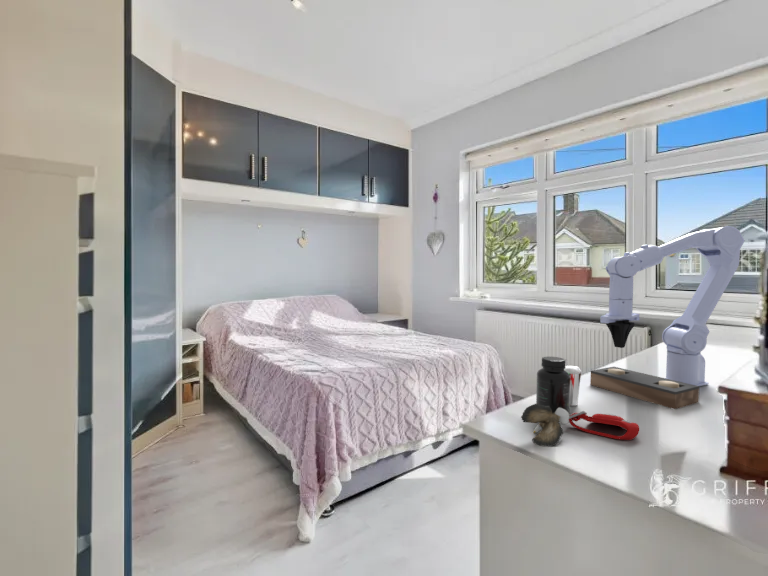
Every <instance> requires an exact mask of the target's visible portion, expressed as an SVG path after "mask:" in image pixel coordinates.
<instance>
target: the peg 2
mask: <svg viewBox="0 0 768 576" xmlns="http://www.w3.org/2000/svg"><path fill="white" fill-rule="evenodd" d="M659 385H662V386H666V387H670V388H679V384H678V383H676V382H671V381H659Z"/></svg>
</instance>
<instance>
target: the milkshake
mask: <svg viewBox="0 0 768 576" xmlns="http://www.w3.org/2000/svg"><path fill="white" fill-rule="evenodd" d="M564 359H565V358H564ZM565 366H566V368H565V369H564V370H565V371H566V372H568V374H569V375H570V405H569V407H576V406H578V403H579V395H580V383H581V377H582V370H581V368H580V367H579V366H577V365H568V359H565Z"/></svg>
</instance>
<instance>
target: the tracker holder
mask: <svg viewBox="0 0 768 576" xmlns="http://www.w3.org/2000/svg"><path fill="white" fill-rule="evenodd" d="M580 420H584V421H587V422H589V423H594V424H595V423H596V424H601V425H602V424H604V425H611V426H616V427H617V426H618V427H620V428H621V429H623V430H626V432H625V433H624V434H623V435H615V434H611V433H607V432H601V431H598V430H597V431H596V430H593V429H588V428H584V427H582V426H580V425H578V424H576V423H574V422H578V421H580ZM573 421H574V422H573ZM568 423H569V425H571V426H572V427H573V428H575V429H577V430H580V431H582V432H585V433H588V434H593V435H598V436H602V437H605V438H609V439H615V440H620V441H631V440H634V439H635V438H636V437H637V436H638V435H639V432H640V426H639V424H638V423H636V422H631V421H629V420H627V419H625V418H623V417H621V416H620V415H615V414H612V413H595V414H592V416H589V415H588V414H587V412H586V411H584V410H582V411H580V412H573V413H572V412H571V413H569V420H568Z"/></svg>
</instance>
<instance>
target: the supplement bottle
mask: <svg viewBox="0 0 768 576" xmlns="http://www.w3.org/2000/svg"><path fill="white" fill-rule="evenodd" d="M541 367H542V368H540V369H539V370H538V371H537V373H536V397H535V399H536V400H535V404H536V403H537V404H539V405H544V406H549V407H550V408H551V410H552V414H553V413H554V412H555V411H556V410H557V408H559V407H560V408H563V409H565V410H566V411H567V412H568V413H569V414H570V406H569V405H570V375H569V374H568V372H566V371H565V370H564V369H565V368H566V364H565V358H564V357H563V358H562V357H559V356H543V357H542V358H541Z"/></svg>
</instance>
